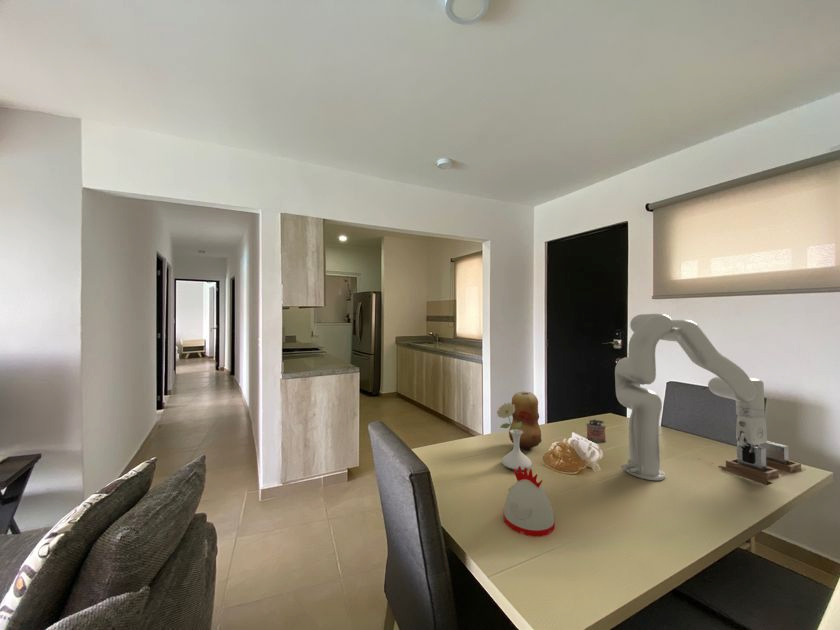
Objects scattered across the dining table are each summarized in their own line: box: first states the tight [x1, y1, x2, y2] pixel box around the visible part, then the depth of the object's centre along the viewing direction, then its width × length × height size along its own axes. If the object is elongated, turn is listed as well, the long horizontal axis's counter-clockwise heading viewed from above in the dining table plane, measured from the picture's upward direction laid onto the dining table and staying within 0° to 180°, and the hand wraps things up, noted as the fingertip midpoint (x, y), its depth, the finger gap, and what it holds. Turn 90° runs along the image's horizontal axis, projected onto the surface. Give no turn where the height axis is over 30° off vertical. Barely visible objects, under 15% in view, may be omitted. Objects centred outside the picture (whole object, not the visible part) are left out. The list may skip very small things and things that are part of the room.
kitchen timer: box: [502, 466, 556, 538], centre depth 95 cm, size 14×14×15 cm
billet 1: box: [736, 441, 766, 471], centre depth 123 cm, size 3×7×8 cm, turn 20°
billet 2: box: [760, 440, 790, 465], centre depth 128 cm, size 3×7×8 cm, turn 20°
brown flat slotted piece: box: [720, 457, 806, 486], centre depth 125 cm, size 26×13×4 cm, turn 110°
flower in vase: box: [496, 402, 533, 471], centre depth 130 cm, size 13×11×25 cm
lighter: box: [586, 418, 607, 443], centre depth 159 cm, size 8×3×10 cm, turn 62°
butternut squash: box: [508, 391, 542, 450], centre depth 149 cm, size 14×13×25 cm
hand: (751, 461), depth 123 cm, fingers closed on billet 1, 3 cm apart
